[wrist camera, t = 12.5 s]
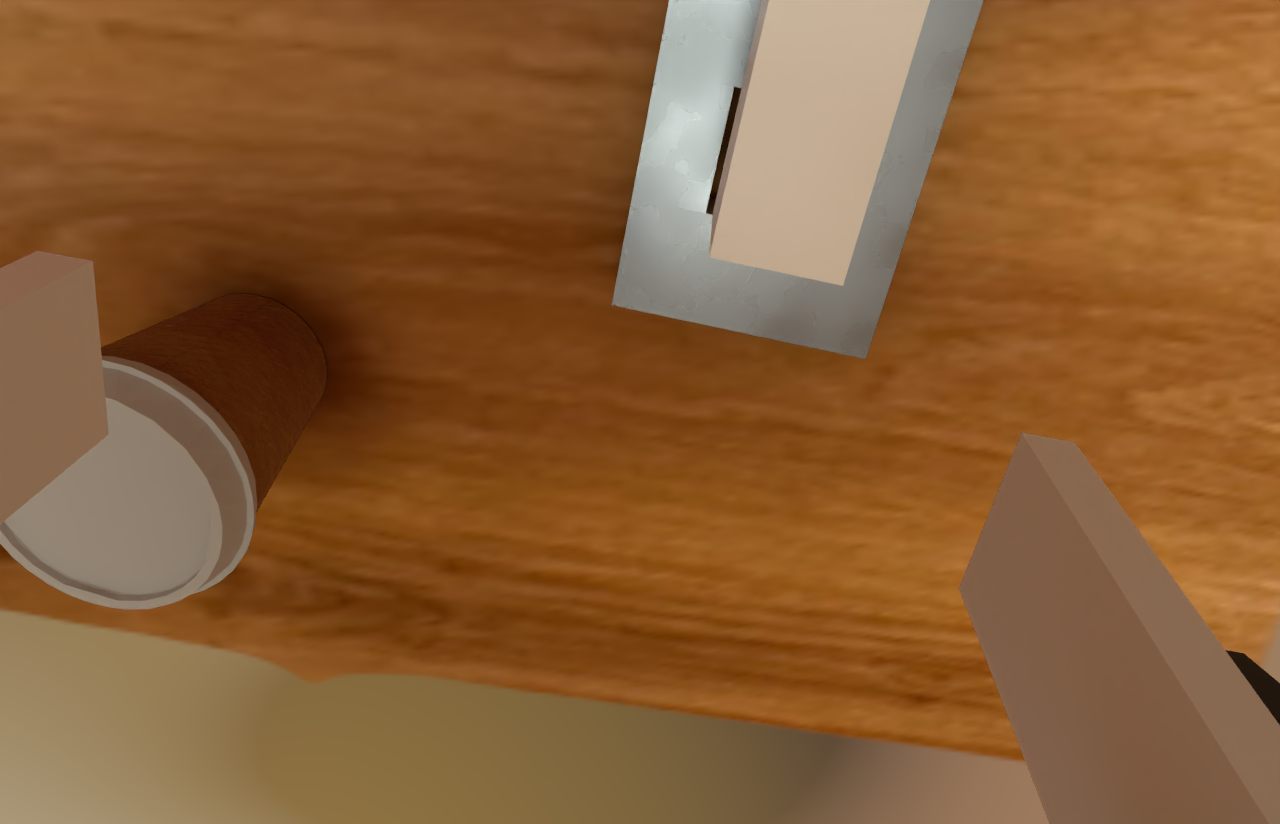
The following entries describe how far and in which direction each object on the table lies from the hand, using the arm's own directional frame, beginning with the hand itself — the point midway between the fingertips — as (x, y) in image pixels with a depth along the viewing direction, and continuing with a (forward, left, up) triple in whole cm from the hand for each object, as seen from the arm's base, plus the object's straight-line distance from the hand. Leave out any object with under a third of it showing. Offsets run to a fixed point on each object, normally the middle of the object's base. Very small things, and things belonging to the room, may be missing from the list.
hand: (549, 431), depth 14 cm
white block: (+4, +5, -25) cm, 26 cm away
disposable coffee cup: (-16, -14, -25) cm, 33 cm away
